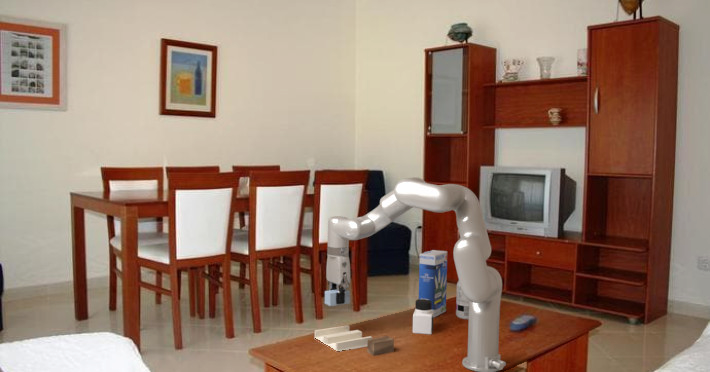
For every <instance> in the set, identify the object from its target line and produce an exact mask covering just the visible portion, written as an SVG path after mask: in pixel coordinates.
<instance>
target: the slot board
mask: <svg viewBox="0 0 710 372" xmlns="http://www.w3.org/2000/svg"><path fill="white" fill-rule="evenodd" d="M315 338H316V339H318V340H320V341H321V342H323V343H324V344H326V345H328V346H330V347H331V348H333V349H334V350H336V351H340V352H343V351H342V350H346V351H350V350H349V349H351V350H356V349H360V348H366V347H367V340H368V339H373V337H372V336H371V335H370V336H364V337H363V331H361V330H359V329H355V330H350V325H348V324H346V325H341V326H340V325H339V326H334V327H328V328H321V329H315V330H314V339H315ZM316 339H315V340H316ZM321 342H320V343H321ZM323 343H322V344H323ZM324 344H323V345H324ZM326 345H325V346H326ZM328 346H327V347H328ZM331 348H330V349H331ZM333 349H332V350H333ZM334 350H333V351H334ZM336 351H335V352H336Z"/></svg>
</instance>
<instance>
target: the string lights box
mask: <svg viewBox="0 0 710 372" xmlns="http://www.w3.org/2000/svg"><path fill="white" fill-rule="evenodd" d="M418 264H419V265H418V268H419V269H418V270H419V271H418V273H419V274H418V279H419V280H418V299H428V300H430V301H431V302H432V310H431V311H433V319H434V318H436V317H438V316H440V315H441V314H444V313H445V312H447V284H448V283H447V282H448V281H447V280H448V279H447V278H448V276H447V275H448V274H447V273H448V251H447V250H439V249H438V250H436V249H432V250H430V251H429V250H428V251H424V252H423V253H422V252H421V253H419V263H418Z"/></svg>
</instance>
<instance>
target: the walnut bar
mask: <svg viewBox="0 0 710 372" xmlns="http://www.w3.org/2000/svg"><path fill="white" fill-rule="evenodd" d="M366 350H367V352H366V353H368V354H369V355H371V356H373V357H374V356H381V355H384V354H390V353H394V350H395V339H394V338H392V337H391V336H388V335H385V336H380V337H374V338H373V337H372V339H368V340H367V349H366Z"/></svg>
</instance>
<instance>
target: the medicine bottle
mask: <svg viewBox="0 0 710 372" xmlns="http://www.w3.org/2000/svg"><path fill="white" fill-rule="evenodd" d="M414 308H415V309H414V312H413V315H412V333H413V334H422V335H432V334H433V331H434V318H433V311H431V310H432V302H431V301H430V300H428V299H419V298H418V299H416V300H415V307H414Z"/></svg>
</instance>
